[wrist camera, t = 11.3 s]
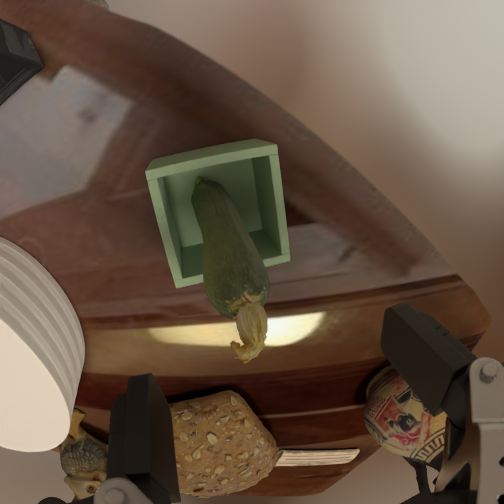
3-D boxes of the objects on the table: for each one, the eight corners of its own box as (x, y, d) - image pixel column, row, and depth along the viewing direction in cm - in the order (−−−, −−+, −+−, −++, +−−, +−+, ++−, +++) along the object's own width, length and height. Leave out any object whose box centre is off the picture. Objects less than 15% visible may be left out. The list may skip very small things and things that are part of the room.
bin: (152, 159, 30) (144, 171, 23) (254, 138, 31) (277, 144, 24) (175, 254, 34) (176, 288, 28) (268, 232, 36) (290, 261, 29)
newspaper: (358, 447, 65) (360, 452, 63) (340, 462, 66) (343, 467, 65) (282, 447, 56) (284, 454, 54) (265, 464, 57) (267, 470, 56)
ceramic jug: (394, 339, 49) (499, 465, 22) (426, 361, 56) (510, 460, 29) (328, 404, 52) (400, 537, 26) (370, 416, 59) (435, 520, 32)
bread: (279, 439, 54) (298, 489, 43) (182, 469, 53) (189, 518, 42) (237, 366, 43) (258, 434, 32) (112, 407, 42) (107, 471, 31)
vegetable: (233, 182, 32) (318, 343, 17) (211, 214, 34) (272, 384, 19) (197, 163, 30) (259, 331, 15) (174, 198, 31) (212, 377, 16)
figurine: (137, 428, 45) (139, 505, 31) (114, 461, 48) (115, 525, 35) (59, 400, 39) (43, 478, 26) (48, 438, 42) (37, 503, 29)
